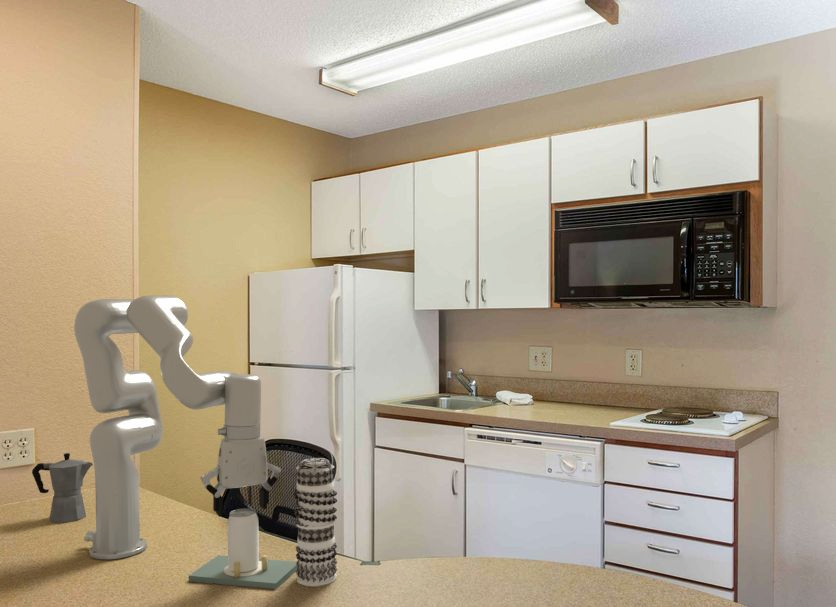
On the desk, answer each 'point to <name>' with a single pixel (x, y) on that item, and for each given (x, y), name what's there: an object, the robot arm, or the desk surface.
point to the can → (243, 540)
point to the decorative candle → (315, 522)
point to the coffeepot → (64, 488)
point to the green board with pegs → (262, 576)
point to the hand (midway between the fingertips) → (241, 510)
